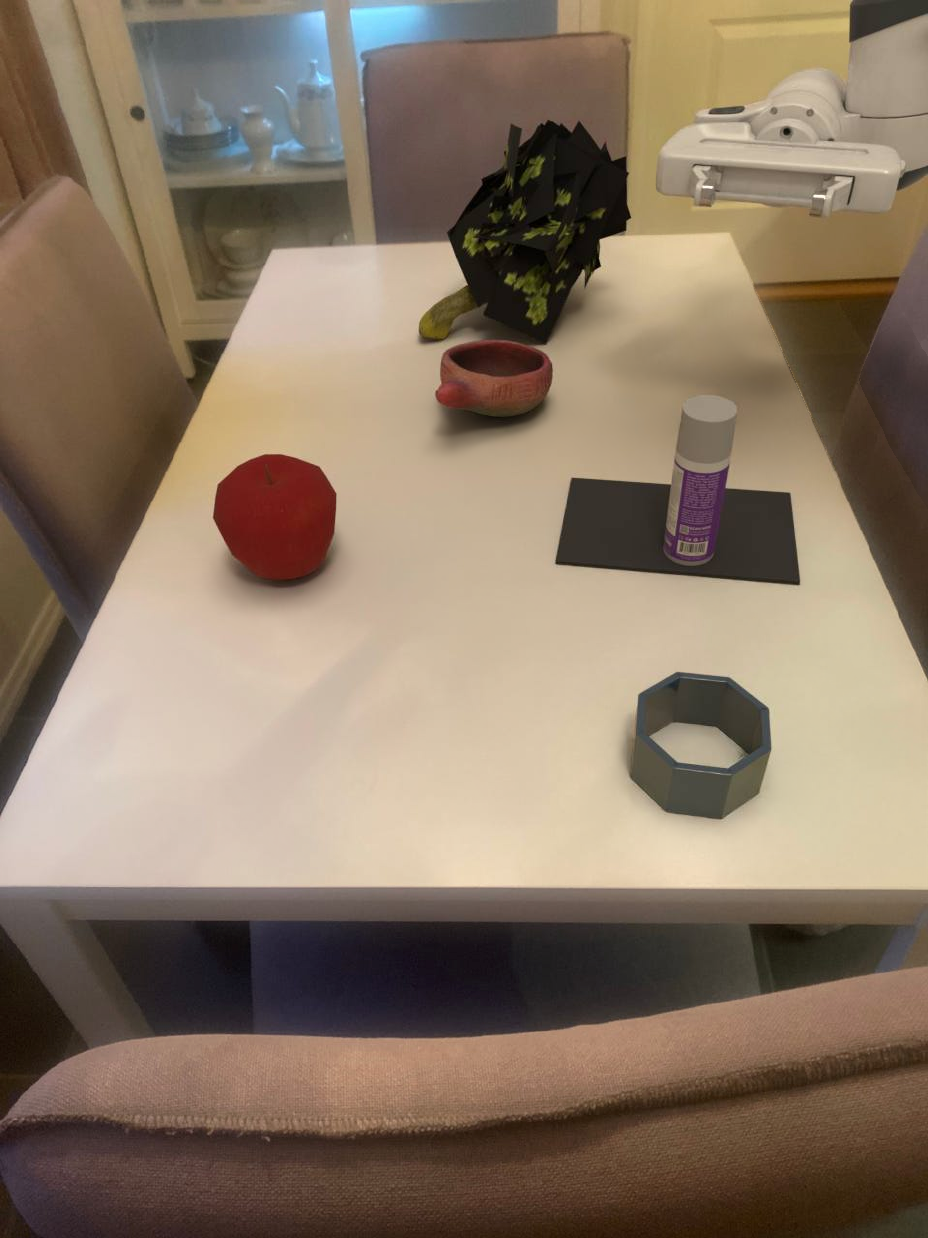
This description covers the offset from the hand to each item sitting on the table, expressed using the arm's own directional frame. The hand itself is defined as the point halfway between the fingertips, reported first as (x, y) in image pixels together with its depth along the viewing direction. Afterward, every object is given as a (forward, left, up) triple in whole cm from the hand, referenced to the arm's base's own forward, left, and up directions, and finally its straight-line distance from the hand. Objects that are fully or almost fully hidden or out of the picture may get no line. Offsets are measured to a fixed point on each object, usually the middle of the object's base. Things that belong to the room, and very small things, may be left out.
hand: (760, 202), depth 75 cm
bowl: (+25, -11, -28) cm, 39 cm away
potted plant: (+27, -37, -28) cm, 54 cm away
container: (+2, +12, -28) cm, 30 cm away
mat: (+4, +8, -28) cm, 29 cm away
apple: (+40, +19, -28) cm, 52 cm away
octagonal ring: (+2, +37, -28) cm, 46 cm away
